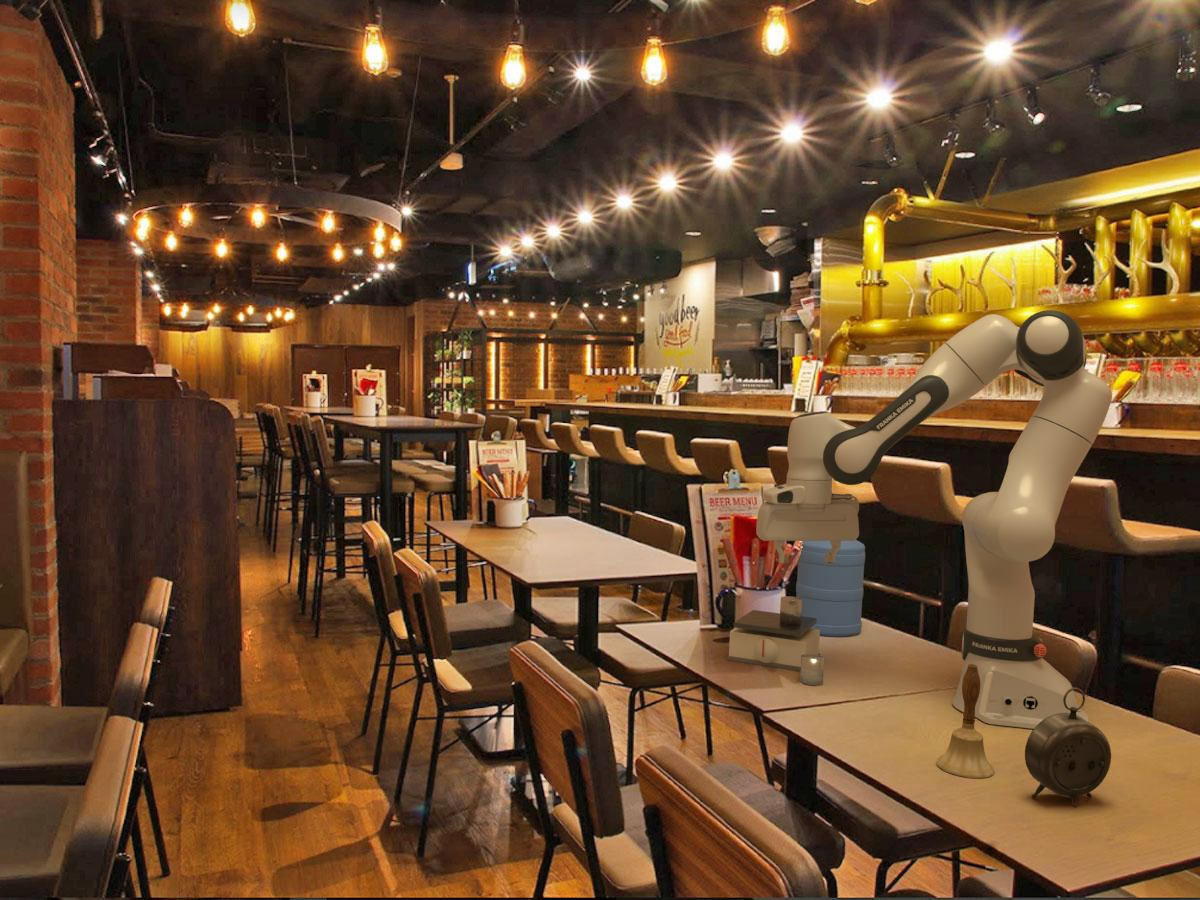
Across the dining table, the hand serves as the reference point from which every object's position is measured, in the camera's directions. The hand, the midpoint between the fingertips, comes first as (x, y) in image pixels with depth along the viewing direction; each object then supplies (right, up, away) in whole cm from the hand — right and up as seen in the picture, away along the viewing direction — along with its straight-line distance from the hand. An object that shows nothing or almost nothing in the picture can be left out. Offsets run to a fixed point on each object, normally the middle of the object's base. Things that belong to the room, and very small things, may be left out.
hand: (806, 563), depth 197 cm
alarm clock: (+25, -27, -58) cm, 68 cm away
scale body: (-4, -22, +12) cm, 25 cm away
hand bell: (+14, -26, -46) cm, 55 cm away
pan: (-4, -15, +12) cm, 20 cm away
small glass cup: (0, -23, -4) cm, 23 cm away
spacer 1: (-1, -14, +10) cm, 17 cm away
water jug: (+13, -21, +40) cm, 47 cm away
